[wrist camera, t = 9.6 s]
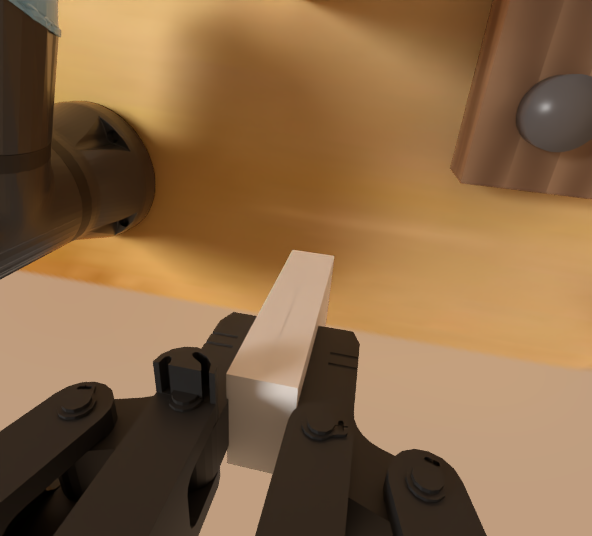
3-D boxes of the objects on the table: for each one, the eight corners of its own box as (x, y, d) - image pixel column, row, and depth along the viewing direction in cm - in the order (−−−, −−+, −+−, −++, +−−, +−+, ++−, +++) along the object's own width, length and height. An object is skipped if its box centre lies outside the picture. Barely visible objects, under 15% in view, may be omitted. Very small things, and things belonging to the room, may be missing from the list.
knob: (493, 136, 34) (515, 148, 28) (511, 72, 32) (540, 70, 26) (554, 143, 33) (590, 156, 27) (578, 78, 31) (623, 77, 25)
